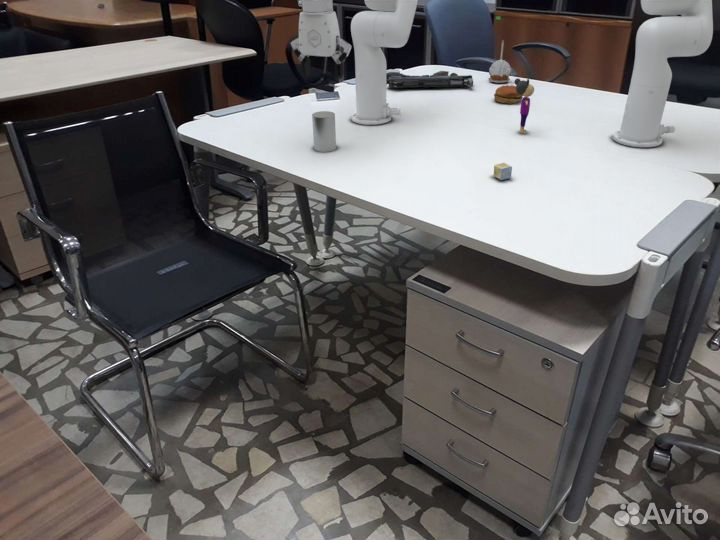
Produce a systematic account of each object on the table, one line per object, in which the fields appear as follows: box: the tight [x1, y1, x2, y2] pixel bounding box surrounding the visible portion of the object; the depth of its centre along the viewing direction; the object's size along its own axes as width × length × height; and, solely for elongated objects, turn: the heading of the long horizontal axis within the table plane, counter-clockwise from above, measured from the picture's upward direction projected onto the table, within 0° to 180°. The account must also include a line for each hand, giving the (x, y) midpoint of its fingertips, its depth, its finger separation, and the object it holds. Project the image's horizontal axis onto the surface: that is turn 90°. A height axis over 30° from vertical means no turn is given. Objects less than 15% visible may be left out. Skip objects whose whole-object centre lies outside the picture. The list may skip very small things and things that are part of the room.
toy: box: [514, 77, 535, 134], centre depth 162 cm, size 10×6×15 cm, turn 168°
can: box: [311, 110, 337, 153], centre depth 156 cm, size 6×6×10 cm
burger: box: [493, 84, 524, 105], centre depth 195 cm, size 10×9×5 cm
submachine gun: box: [386, 70, 474, 89], centre depth 219 cm, size 33×4×25 cm
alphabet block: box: [493, 162, 513, 181], centre depth 136 cm, size 3×3×3 cm
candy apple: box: [487, 39, 512, 84], centre depth 216 cm, size 8×8×15 cm
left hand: (322, 77), depth 149 cm, fingers open, 9 cm apart
